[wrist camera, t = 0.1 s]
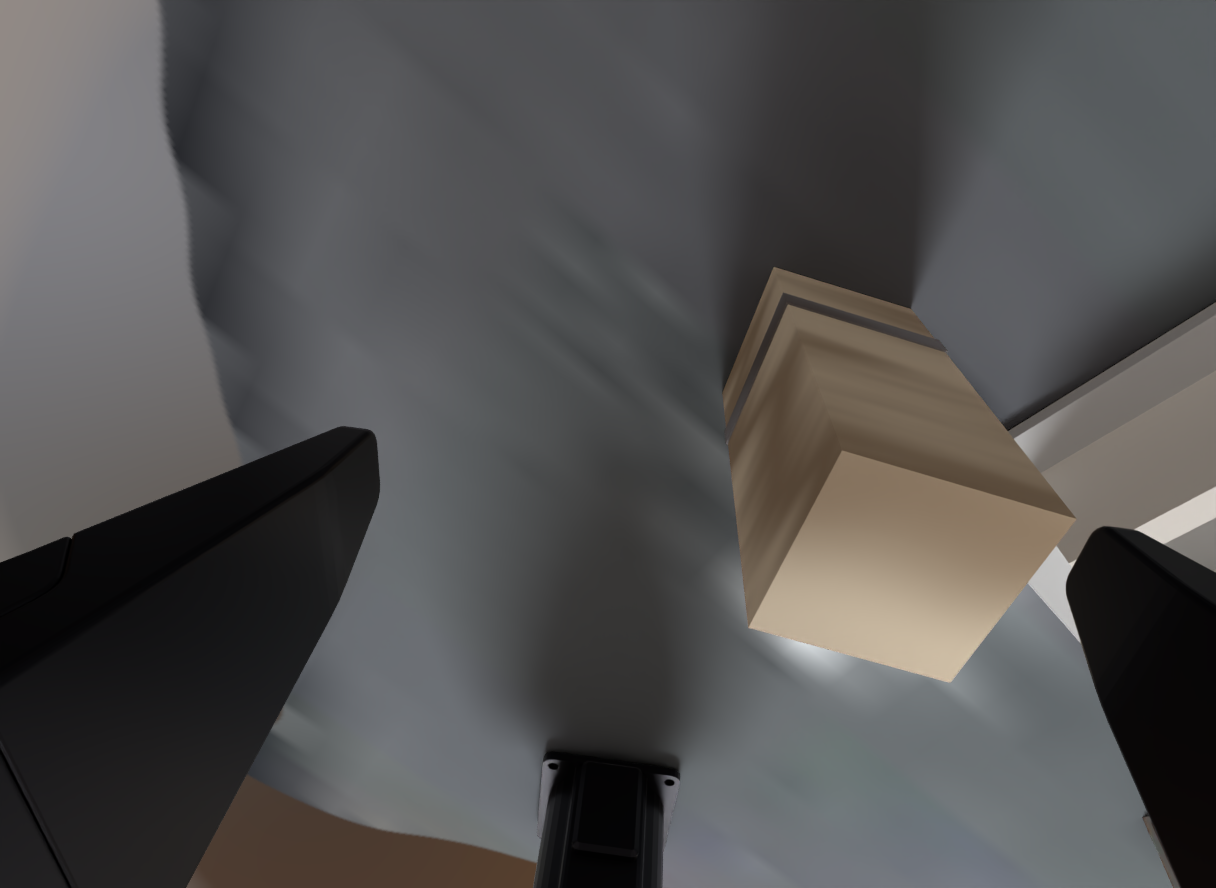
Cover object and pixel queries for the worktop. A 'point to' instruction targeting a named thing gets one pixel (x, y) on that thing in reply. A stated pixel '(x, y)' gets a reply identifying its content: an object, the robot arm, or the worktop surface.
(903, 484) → the wooden post
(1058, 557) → the well
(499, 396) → the worktop surface
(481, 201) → the worktop surface
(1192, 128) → the worktop surface
